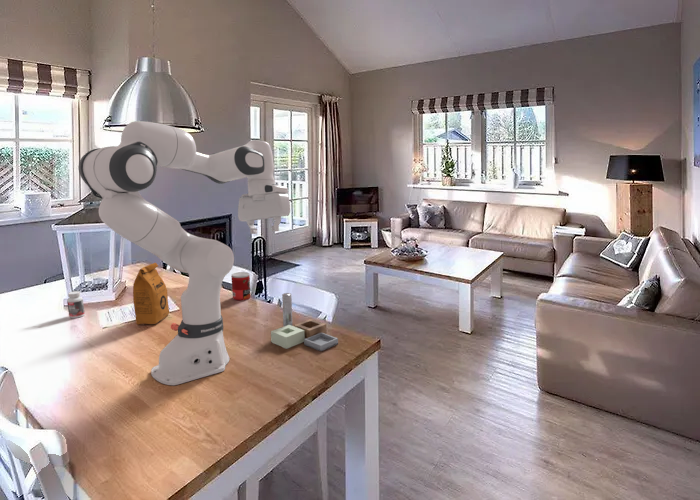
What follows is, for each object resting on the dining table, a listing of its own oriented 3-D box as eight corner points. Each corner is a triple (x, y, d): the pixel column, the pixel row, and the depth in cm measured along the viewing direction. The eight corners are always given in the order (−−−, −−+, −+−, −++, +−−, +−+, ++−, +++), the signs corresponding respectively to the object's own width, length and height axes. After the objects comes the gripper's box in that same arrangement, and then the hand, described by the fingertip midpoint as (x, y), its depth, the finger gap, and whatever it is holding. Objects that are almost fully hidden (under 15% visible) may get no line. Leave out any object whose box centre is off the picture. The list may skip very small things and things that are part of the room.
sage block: (286, 348, 149) (286, 337, 148) (271, 342, 154) (270, 331, 153) (304, 341, 155) (304, 330, 154) (289, 335, 160) (288, 324, 159)
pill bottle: (68, 319, 177) (65, 295, 175) (69, 315, 182) (66, 291, 180) (84, 317, 180) (81, 293, 178) (85, 313, 184) (82, 289, 182)
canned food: (246, 301, 198) (245, 276, 196) (229, 300, 199) (228, 276, 197) (253, 295, 205) (252, 272, 203) (237, 295, 207) (235, 271, 205)
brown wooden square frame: (309, 341, 154) (309, 330, 154) (294, 335, 160) (293, 324, 159) (326, 334, 160) (326, 324, 159) (311, 329, 165) (310, 318, 165)
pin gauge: (287, 334, 161) (286, 296, 158) (281, 331, 163) (280, 294, 160) (294, 331, 163) (293, 294, 161) (288, 329, 166) (287, 292, 163)
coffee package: (174, 315, 181) (169, 261, 176) (156, 327, 169) (150, 269, 164) (151, 314, 182) (145, 261, 178) (131, 325, 170) (125, 268, 166)
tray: (320, 351, 147) (320, 345, 146) (304, 344, 152) (304, 339, 151) (338, 343, 152) (337, 338, 152) (321, 337, 158) (321, 332, 157)
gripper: (232, 194, 153) (234, 235, 152) (278, 185, 142) (281, 229, 141) (245, 195, 158) (248, 235, 158) (291, 187, 147) (294, 229, 147)
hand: (264, 232), depth 149 cm, fingers open, 8 cm apart
